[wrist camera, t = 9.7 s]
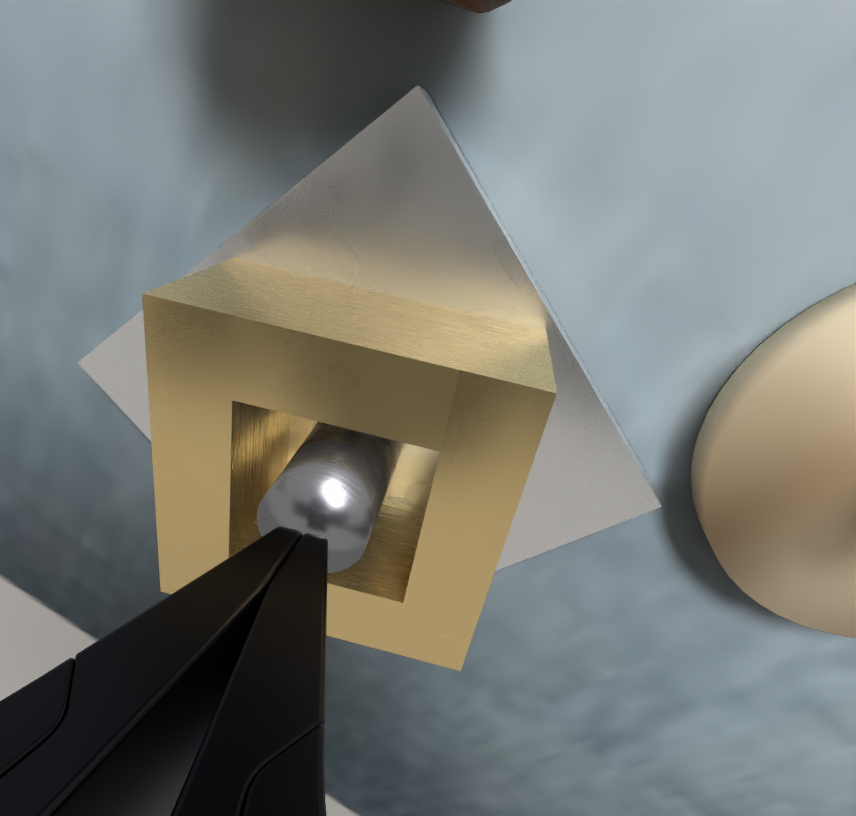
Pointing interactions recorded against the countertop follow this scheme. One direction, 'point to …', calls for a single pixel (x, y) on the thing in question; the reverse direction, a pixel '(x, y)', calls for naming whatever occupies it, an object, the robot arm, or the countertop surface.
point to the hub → (425, 282)
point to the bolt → (478, 4)
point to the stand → (788, 470)
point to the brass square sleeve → (352, 409)
